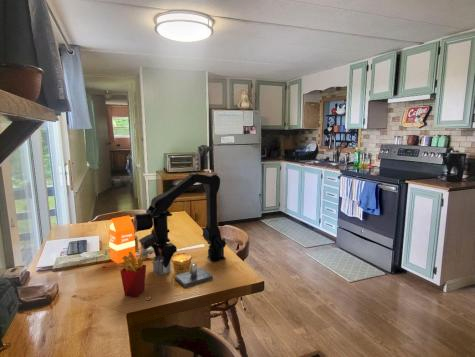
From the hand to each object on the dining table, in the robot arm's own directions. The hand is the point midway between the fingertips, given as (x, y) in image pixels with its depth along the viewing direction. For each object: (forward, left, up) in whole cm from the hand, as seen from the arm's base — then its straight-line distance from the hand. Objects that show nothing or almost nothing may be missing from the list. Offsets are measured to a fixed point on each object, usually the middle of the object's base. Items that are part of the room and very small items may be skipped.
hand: (161, 263), depth 127 cm
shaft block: (-8, +14, -4) cm, 16 cm away
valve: (-2, -17, -4) cm, 18 cm away
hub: (0, 0, -4) cm, 4 cm away
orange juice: (+10, -24, -4) cm, 26 cm away
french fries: (+16, +12, -4) cm, 20 cm away
